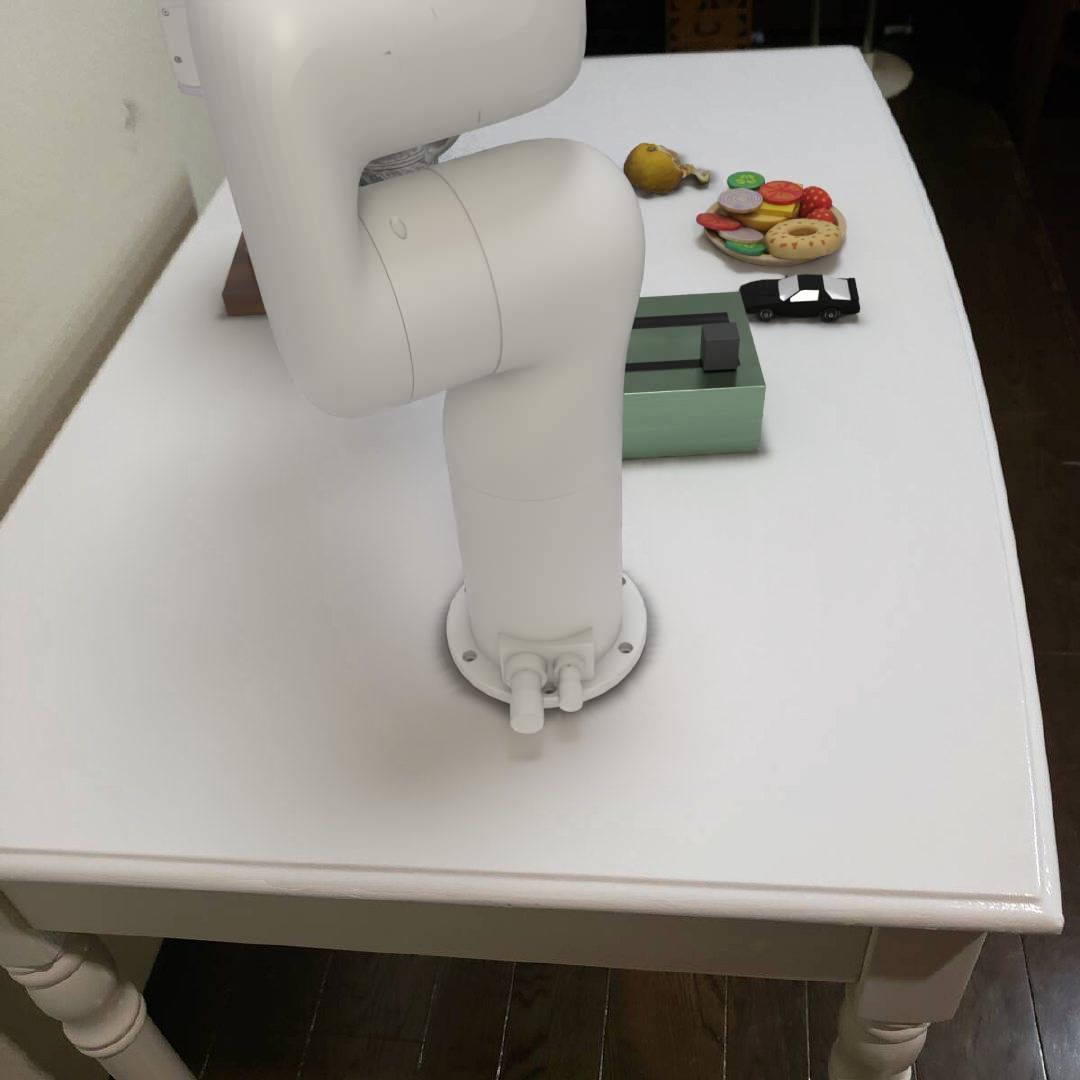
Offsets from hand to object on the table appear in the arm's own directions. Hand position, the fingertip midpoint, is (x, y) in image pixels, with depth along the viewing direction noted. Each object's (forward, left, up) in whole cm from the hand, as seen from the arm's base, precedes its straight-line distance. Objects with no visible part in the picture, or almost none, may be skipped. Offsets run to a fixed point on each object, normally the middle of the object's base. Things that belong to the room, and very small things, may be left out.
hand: (264, 157), depth 94 cm
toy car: (-10, -44, -12) cm, 47 cm away
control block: (0, 0, -11) cm, 11 cm away
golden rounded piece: (+14, -36, -12) cm, 40 cm away
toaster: (-22, -32, -11) cm, 41 cm away
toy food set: (+2, -44, -12) cm, 46 cm away
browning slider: (-25, -35, -5) cm, 44 cm away
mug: (+16, -10, -12) cm, 22 cm away
